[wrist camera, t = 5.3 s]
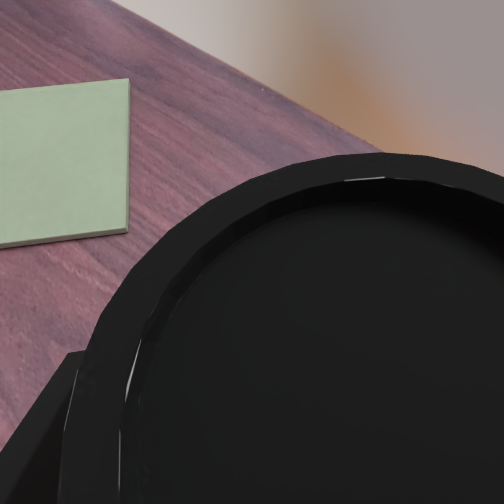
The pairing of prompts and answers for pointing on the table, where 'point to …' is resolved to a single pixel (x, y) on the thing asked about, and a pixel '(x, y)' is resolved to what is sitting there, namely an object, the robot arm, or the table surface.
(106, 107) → the mat
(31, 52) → the table surface
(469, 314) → the coffee cup
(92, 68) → the table surface
